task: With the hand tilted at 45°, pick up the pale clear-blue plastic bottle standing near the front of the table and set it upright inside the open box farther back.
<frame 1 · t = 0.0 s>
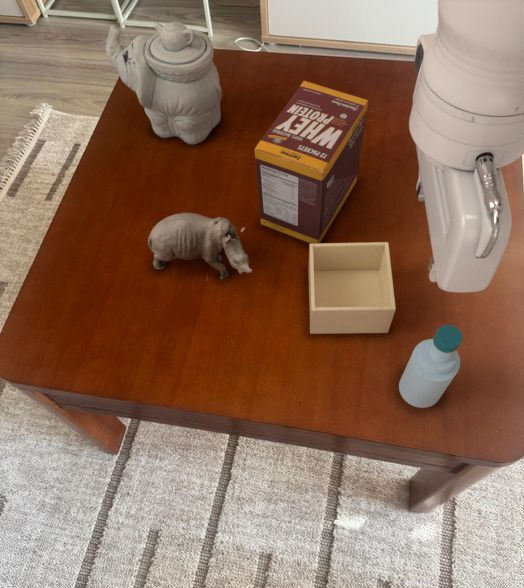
hand: (431, 234, 50), 26 cm above the table, tool pointing down, fingers open, 8 cm apart
bottle: (420, 388, 71), on the table
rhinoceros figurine: (208, 264, 82), on the table
supplement box: (309, 203, 86), on the table
open box: (346, 300, 77), on the table
teapot: (176, 122, 97), on the table
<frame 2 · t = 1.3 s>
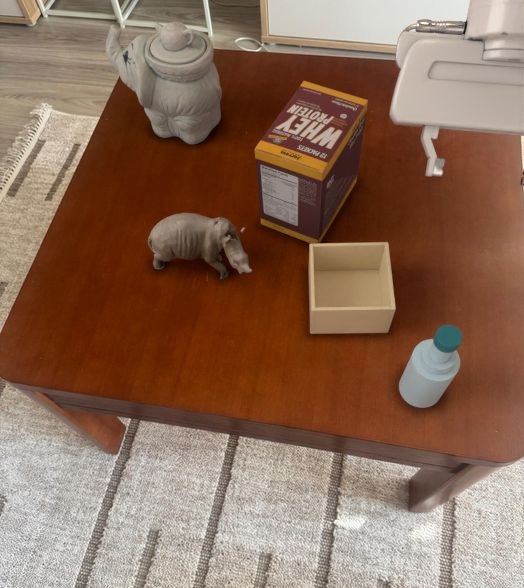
hand: (480, 181, 53), 25 cm above the table, tool tilted 45°, fingers open, 8 cm apart
nothing on the table moved.
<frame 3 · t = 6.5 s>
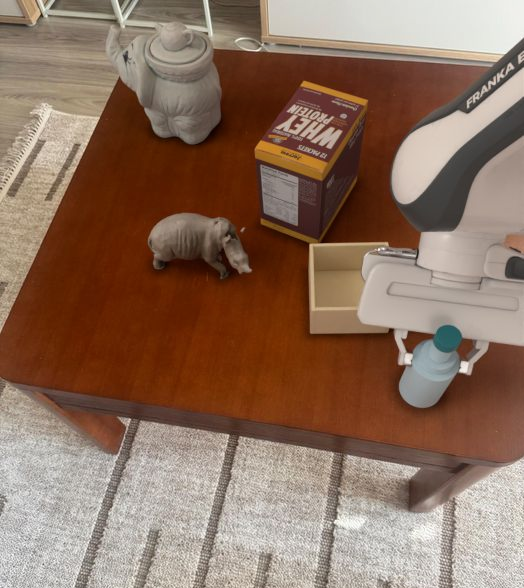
hand: (433, 368, 63), 8 cm above the table, tool tilted 45°, fingers closed on bottle, 5 cm apart
bottle: (420, 388, 71), on the table, touching gripper
everything else where it was.
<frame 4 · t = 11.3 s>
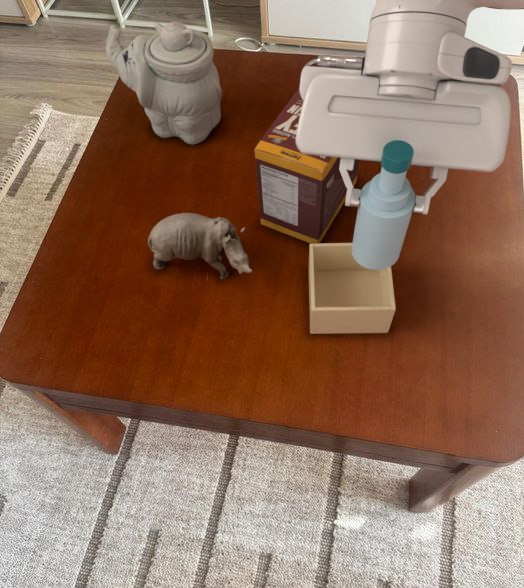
hand: (385, 210, 55), 23 cm above the table, tool tilted 45°, fingers closed on bottle, 5 cm apart
bottle: (375, 250, 62), point 16 cm above the table, touching gripper
everything else where it was.
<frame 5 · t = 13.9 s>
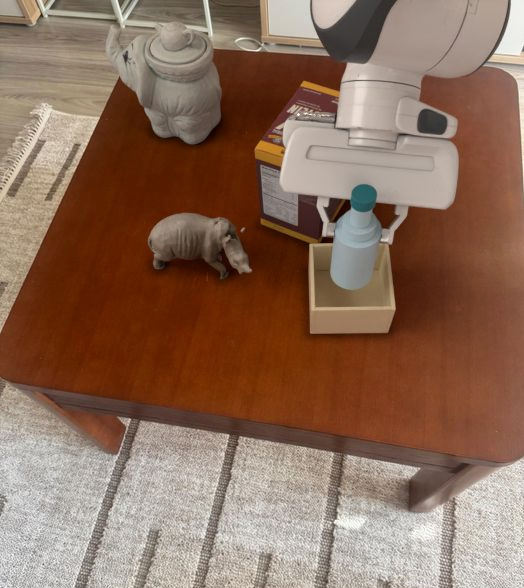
hand: (357, 240, 64), 15 cm above the table, tool tilted 45°, fingers closed on bottle, 5 cm apart
bottle: (351, 272, 71), point 7 cm above the table, touching gripper
everything else where it was.
when the fingers open (8 cm above the table, at t = 16.2 s): bottle stays where it is, resting on open box.
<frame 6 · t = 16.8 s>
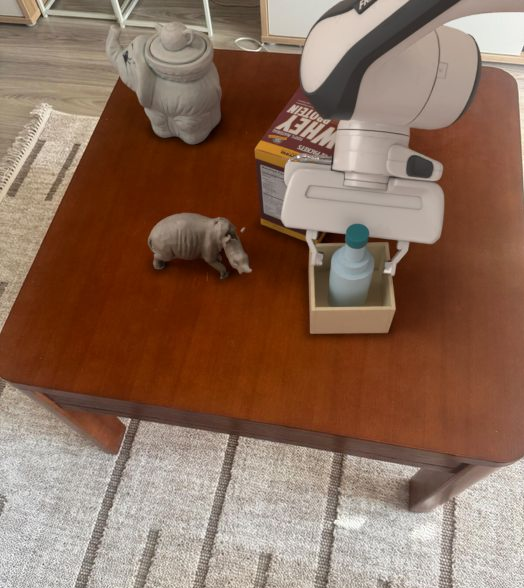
hand: (352, 270, 69), 9 cm above the table, tool tilted 45°, fingers open, 8 cm apart
bottle: (346, 298, 77), resting on open box
everything else where it was.
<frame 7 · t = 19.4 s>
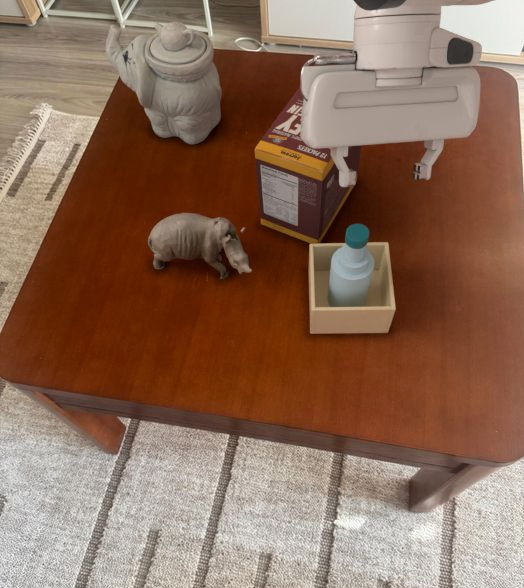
hand: (384, 182, 63), 18 cm above the table, tool tilted 35°, fingers open, 8 cm apart
nothing on the table moved.
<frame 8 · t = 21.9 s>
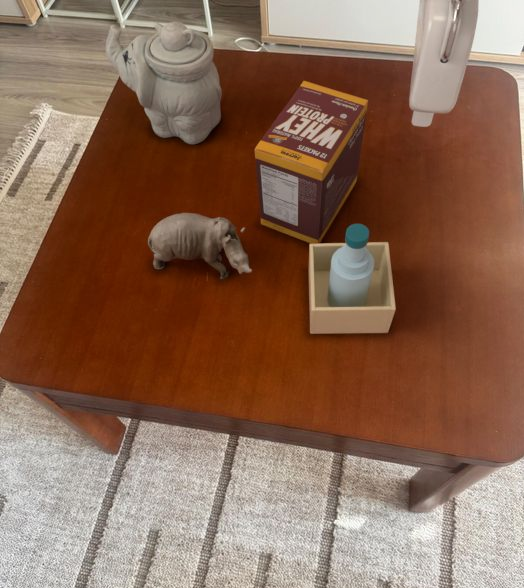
hand: (423, 88, 52), 31 cm above the table, tool pointing down, fingers open, 8 cm apart
nothing on the table moved.
at the end: bottle inside the target area in the open box (0.1 cm from its centre), point 0.5 cm above the open box's base; bottle tilted 0°; teapot moved 0.2 cm from its start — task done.
